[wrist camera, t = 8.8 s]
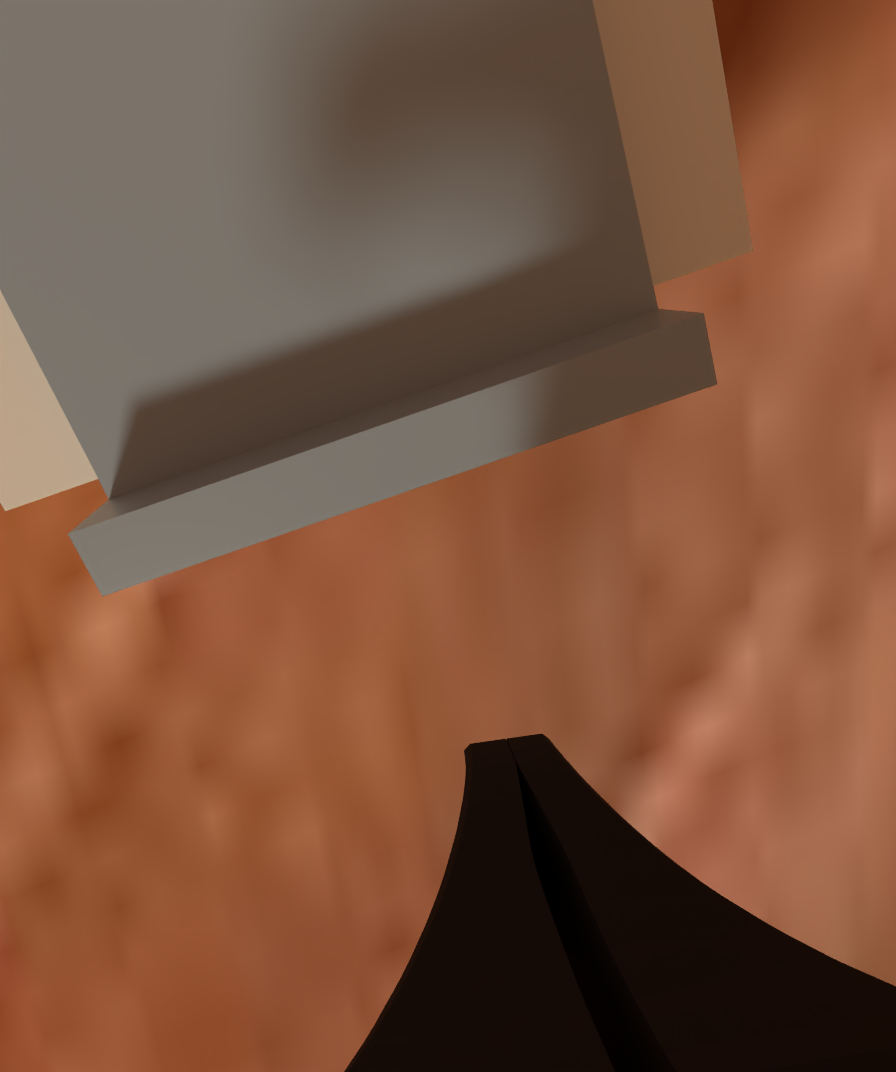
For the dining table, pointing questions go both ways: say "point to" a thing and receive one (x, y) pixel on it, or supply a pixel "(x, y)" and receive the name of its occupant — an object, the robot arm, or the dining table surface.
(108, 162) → the cover
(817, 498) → the dining table surface
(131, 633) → the dining table surface
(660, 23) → the housing
